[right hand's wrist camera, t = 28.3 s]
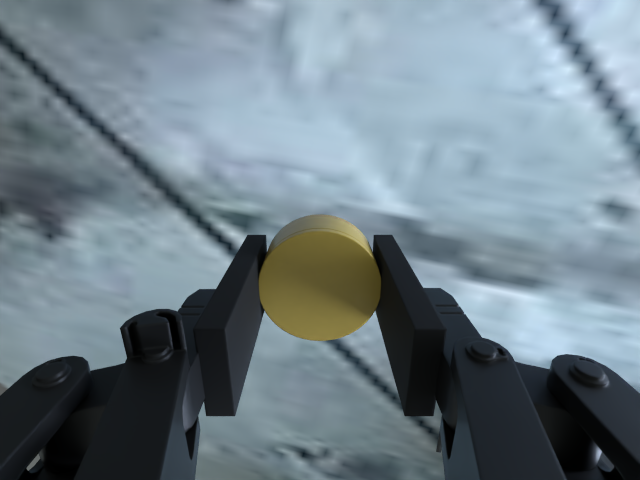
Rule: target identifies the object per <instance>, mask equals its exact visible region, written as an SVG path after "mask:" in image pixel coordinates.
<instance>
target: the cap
mask: <svg viewBox="0 0 640 480" xmlns="http://www.w3.org/2000/svg"><path fill="white" fill-rule="evenodd" d="M258 281H259V295H260V301H261V304H262V306H263V308H264V310H265V312H266V313H267V315H268V316H269V318H270V319H271V320H272V321H273V322H274V323H275V324H276V325H277V326H278V327H280V328H281V329H282V330H284V331H286V332H287V333H289V334H291V335H294V336H296V337H299V338H302V339H307V340H315V341H326V340H333V339H337V338H341V337H344V336H346V335H349V334H350V333H352V332H354V331H356V330H357V329H359V328H360V327H361V326H363V325H364V324H365V323H366V322H367V321H368V320H369V318H370V317H371V316H372V314H373V313H374V311H375V310H376V308H377V306H378V303H379V300H380V292H381V275H380V271H379V268H378V265H377V263H376V260H375V257H374V255H373V252H372V249H371V247H370V245H369V242H368V241H367V239H366V238H365V236H364V235H363V234H362V233H361V231H360V230H359V229H357V228H356V227H355V226H354V225H352V224H351V223H349V222H347V221H345V220H343V219H341V218H338V217H335V216H330V215H310V216H305V217H302V218H299V219H296V220H294V221H292V222H291V223H289V224H287V225H286V226H285V227H283V228H282V229H281V230H280V231H279V232H278V233H277V234H276V236H275V237H274V239H273V240H272V242H271V244H270V246H269V249H268V251H267V254H266V257H265V259H264V262H263V265H262V267H261V270H260V273H259V280H258Z"/></svg>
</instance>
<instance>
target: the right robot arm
mask: <svg viewBox="0 0 640 480" xmlns="http://www.w3.org/2000/svg"><path fill="white" fill-rule="evenodd" d="M266 254H267V245H266V235H247V237H246V239H245V240H244V242H243V244H242V246H241V247H240V249H239V251H238V252H237V254H236V256H235V258H234V259H233V261H232V263H231V264H230V266H229V268H228V270H227V271H226V273H225V275H224V276H223V278H222V280H221V282H220V283H219V285H218V287H217V288H216V289H199V290H198V291H196V292H195V293H193V294H192V295H190V296H189V297H188V298H187V299H186V300H185V302H184V303H183V305H182V306H181V308H180V309H179V310H178V312H177V311H174V310H170V309H156V310H151V311H146V312H143V313H141V314H138V315H136V316H134V317H132V318H131V319H129V320H127V321H126V322H125V323H124V324H123V325H122V326H121V328H120V330H121V334H122V338H123V343H124V347H125V351H126V355H127V360H126V362H125V363H123V364H120V365H116V366H111V367H107V368H102V369H97V370H92V371H90V367H89V364H88V361H87V360H85V359H84V358H83V357H78V356H68V357H60V358H56V359H53V360H50V361H47V362H45V363H43V364H41V365H39V366H37V367H35V368H33V369H32V370H30V371H29V372H28V373H26V374H25V375H23V376H22V377H21V378H20V379H19V380H18V381H17V382H15V383H14V384H13V385H12V386H11V387H10V388H9V389H7V390H6V391H5V392H4V393H3V394H2V395H1V396H0V480H195V472H196V463H197V454H198V445H199V436H200V425H199V419H198V414H199V412H200V409H201V407H202V404H203V402H204V404H205V411H206V416H235V414H236V411H237V407H238V404H239V400H240V396H241V393H242V389H243V386H244V382H245V378H246V375H247V371H248V368H249V364H250V360H251V357H252V353H253V350H254V346H255V342H256V339H257V335H258V332H259V328H260V324H261V321H262V317H263V314H264V308H263V306H262V304H261V301H260V295H259V281H258V280H259V273H260V270H261V267H262V265H263V262H264V259H265V257H266ZM373 255H374V257H375V260H376V263H377V265H378V268H379V271H380V275H381V292H380V300H379V303H378V306H377V308H376V310H375V311H376V314H377V318H378V322H379V325H380V329H381V332H382V336H383V340H384V343H385V347H386V350H387V354H388V358H389V361H390V365H391V368H392V372H393V376H394V379H395V383H396V386H397V390H398V394H399V397H400V401H401V404H402V408H403V412H404V415H405V416H434V409H435V403H436V400H437V403H438V405H439V408H440V410H441V413H442V419H441V425H440V431H439V437H438V443H437V449H436V452H441V448H442V453H443V462H444V471H445V480H640V393H638V392H637V391H636V390H635V389H634V388H633V387H631V386H630V385H629V384H628V383H627V382H626V381H625V380H623V379H622V378H621V377H620V376H619V375H618V374H616V373H615V372H614V371H612V370H611V369H609V368H608V367H606V366H605V365H602V364H600V363H598V362H596V361H594V360H592V359H589V358H585V357H582V356H578V355H569V354H565V355H559V356H557V357H555V358H554V359H553V360H552V363H551V366H550V369H545V368H541V367H536V366H531V365H526V364H522V363H518V362H515V361H514V359H513V357H512V356H511V354H510V353H509V352H508V350H506V349H505V348H504V347H502V346H501V345H500V344H498V343H496V342H493V341H491V340H489V339H485V338H482V337H481V336H480V334H479V333H478V331H477V330H476V329H475V327H474V326H473V324H472V323H471V322H470V320H469V319H468V317H467V316H466V315H465V314H464V312H463V310H462V309H461V308H460V307H459V305H458V303H457V302H456V301H455V299H454V298H453V296H451V295H450V294H448V293H447V292H445V291H444V290H442V289H441V288H423V287H422V285H421V284H420V282H419V280H418V279H417V277H416V275H415V273H414V272H413V270H412V268H411V267H410V265H409V263H408V261H407V260H406V258H405V256H404V255H403V253H402V251H401V249H400V248H399V246H398V244H397V243H396V241H395V239H394V237H393V236H392V235H374V241H373ZM38 453H39V456H40V460H39V461H38V462H37V463H36V465H35V466H34V467H32V468H31V469H30V470H29V471H28V470H27V469H26V468H27V466H28V465H29V464H30V463H31V462H32V460H33V459H34V458H35V457H36V456H37V454H38Z"/></svg>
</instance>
